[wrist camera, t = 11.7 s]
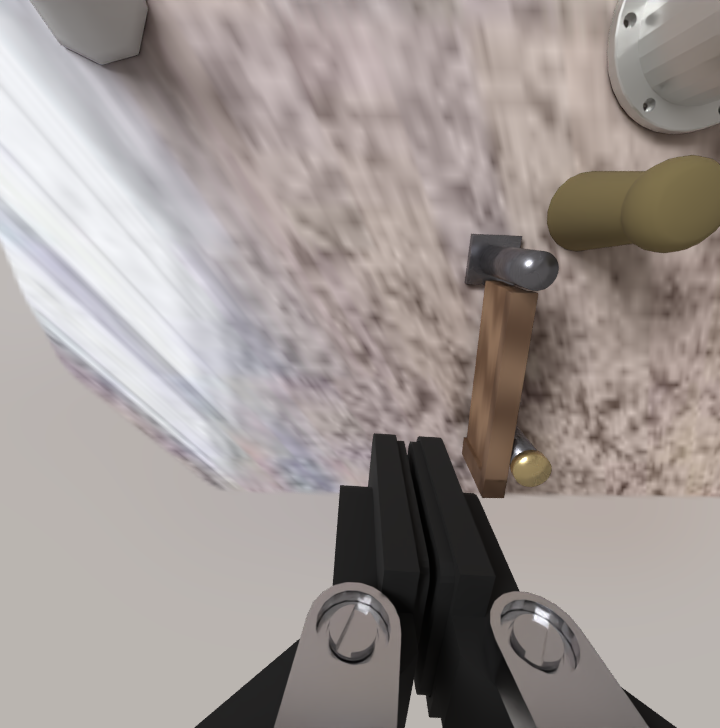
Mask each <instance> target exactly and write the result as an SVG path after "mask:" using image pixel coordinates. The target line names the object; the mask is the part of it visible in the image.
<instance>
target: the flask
mask: <svg viewBox="0 0 720 728" xmlns="http://www.w3.org/2000/svg"><path fill="white" fill-rule="evenodd" d="M30 2H31V3H32V4H33V6H34V7H35V9H36V10H37V12H38V13H39V15H40V16H41V17H42V19H43V20H44V22H45V23H46V25H47V26H48V28H49V29H50V31H51V32H52V34H53V35H54V36H55V38H56V39H57V40H58V42H59V43H60V45H62V46H64V47H66V48H68V49H70V50H72V51H74V52H76V53H78V54H80V55H82V56H84V57H86V58H88V59H90V60H92V61H94V62H96V63H98V64H100V65H103V64H107V63H110V62H114V61H117V60H121V59H124V58H128V57H132V56H135V55H139V50H140V45H141V40H142V35H143V31H144V26H145V21H146V16H147V11H148V7H147V4H146V0H30Z"/></svg>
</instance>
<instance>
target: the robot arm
mask: <svg viewBox="0 0 720 728" xmlns="http://www.w3.org/2000/svg"><path fill="white" fill-rule="evenodd" d="M607 59H608V73H609V77H610V81H611V85H612V88H613V91H614V93H615V95H616V97H617V99H618V101H619V103H620V105H621V106H622V108H623V109H624V110H625V111H626V113H627V114H628V115H629V116H630V117H631V118H632V119H633V120H635V121H636V122H637V123H639V124H640V125H641V126H643V127H646V128H648V129H650V130H653V131H655V132H660V133H666V134H681V133H689V132H693V131H697V130H701V129H705V128H707V127H710V126H713V125H715V124H718V123H720V0H619V1H618V3H617V5H616V8H615V10H614V14H613V18H612V22H611V26H610V30H609V38H608V48H607ZM413 680H414V682H415V689H416V693H417V695H426V699H427V706H428V713H429V717H433V718H441V721H442V726H443V728H676V727H675V726H673V725H672V724H671V723H669V722H668V721H667V720H665V719H664V718H663V717H661V716H660V715H659V714H657V713H656V712H654V711H653V710H652V709H650V708H649V707H647V706H646V705H645V704H644V703H642V702H641V701H639V700H638V699H637V698H635V697H634V696H632V695H631V694H630V693H628V692H627V691H626V690H624V689H623V688H622V687H621V686H620V685H619V684H618V682H617V681H616V679H615V678H614V676H613V675H612V673H611V672H610V670H609V669H608V668H607V666H606V665H605V663H604V662H603V660H602V659H601V658H600V656H599V655H598V653H597V652H596V650H595V649H594V648H593V646H592V645H591V643H590V642H589V640H588V639H587V638H586V636H585V635H584V633H583V632H582V630H581V629H580V628H579V627H578V625H577V624H576V623H575V622H574V621H573V619H572V618H571V617H570V616H569V615H568V614H567V613H566V612H564V611H563V610H562V609H561V608H559V607H558V606H557V605H556V604H554V603H552V602H550V601H548V600H547V599H545V598H543V597H541V596H538V595H535V594H532V593H529V592H520V591H519V589H518V587H517V584H516V582H515V580H514V578H513V575H512V573H511V571H510V569H509V566H508V564H507V562H506V560H505V557H504V555H503V553H502V550H501V548H500V546H499V544H498V541H497V539H496V537H495V535H494V532H493V530H492V528H491V526H490V523H489V521H488V519H487V516H486V514H485V512H484V510H483V507H482V505H481V503H480V501H479V499H478V497H477V495H475V494H474V493H463V492H462V489H461V486H460V484H459V481H458V479H457V476H456V474H455V471H454V468H453V466H452V463H451V461H450V458H449V456H448V453H447V451H446V448H445V445H444V443H443V440H442V439H441V438H436V437H421V436H419V437H418V439H417V442H410V443H409V448H408V455H407V453H406V448H405V443H404V441H397V438H396V435H390V434H375V433H374V435H373V442H372V452H371V462H370V472H369V482H368V487H360V486H344V485H340V496H339V509H338V524H337V536H336V549H335V562H334V576H333V586H332V587H330V588H329V589H327V590H325V591H323V592H322V593H321V594H320V595H319V596H318V597H317V599H316V600H315V601H314V602H313V604H312V606H311V608H310V610H309V612H308V614H307V617H306V621H305V624H304V627H303V631H302V634H301V638H300V639H299V640H297V642H295V643H294V644H293V645H292V646H291V647H289V648H288V649H287V650H286V651H284V652H283V653H282V654H281V655H280V656H279V657H277V658H276V659H275V660H274V661H273V662H271V663H270V664H269V665H268V666H267V667H266V668H264V669H263V670H262V671H261V672H260V673H259V674H257V675H256V676H255V677H254V678H253V679H251V680H250V681H249V682H248V683H247V684H245V685H244V686H243V687H242V688H241V689H240V690H238V691H237V692H236V693H235V694H234V695H232V696H231V697H230V698H229V699H228V700H227V701H225V702H224V703H223V704H222V705H221V706H219V707H218V708H217V709H216V710H215V711H214V712H212V713H211V714H210V715H209V716H208V717H206V718H205V719H204V720H203V721H202V722H200V723H199V724H198V725H197V726H196V727H195V728H404V727H405V723H406V717H407V712H408V707H409V701H410V696H411V691H412V686H413Z"/></svg>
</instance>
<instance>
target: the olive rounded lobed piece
mask: <svg viewBox="0 0 720 728" xmlns="http://www.w3.org/2000/svg"><path fill="white" fill-rule="evenodd" d="M547 225H548V228H549V232H550V235H551V236H552V238H553V239H554V240H555V242H556V243H557V244H558V245H560V246H561V247H563V248H565V249H567V250H572V251H582V250H590V249H597V248H605V247H612V246H619V245H627V244H635V245H637V246H638V247H640V248H642V249H644V250H647V251H652V252H658V253H668V252H676V251H681V250H685V249H687V248H690V247H692V246H694V245H697V244H699V243H700V242H702V241H703V240H704V239H706V238H707V237H708V236H710V235H711V234H712V233H713V232H715V231H716V230H717V229H718V227H719V226H720V164H719V163H717V162H716V161H715V160H713V159H710V158H706V157H701V156H695V155H690V156H683V157H676V158H672V159H668V160H666V161H664V162H662V163H660V164H658V165H656V166H654V167H652V168H650V169H649V170H647V171H592V172H585V173H580V174H578V175H576V176H574V177H572V178H570V179H568V180H567V181H566V182H565V183H564V184H563V185H562V186H561V187H559V189H558V190H557V192H556V193H555V195H554V196H553V198H552V200H551V203H550V206H549V209H548V215H547Z"/></svg>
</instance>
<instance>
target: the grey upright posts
mask: <svg viewBox="0 0 720 728" xmlns="http://www.w3.org/2000/svg"><path fill="white" fill-rule="evenodd" d="M521 240H522V236H507V235H483V234H471V239H470V247H469V254H468V262H467V270H466V277H465V283H466V284H482V285H485V283H486V281H502V282H505V283H507V284H510V285H514V284H515V285H518V286H521V287H524V288H527V289H529V290H533V291H539V290H543V289H545V288H547V287H548V286H550V285H551V284H552V283H553V282H554V280H555V279H556V277H557V274H558V270H559V266H558V262H557V259H556V258H555V257H554V256H553V255H552V254H551V253H549V252H545V251H537V250H529V249H521V248H520V245H521ZM519 407H520V406H519ZM510 469H511V473H512V474H513V476H514V477H515V479H516V481H517V482H518V483H519V484H521V485H523V486H526V487H534V486H538V485H540V484H542V483H544V482H545V481H546V480H547V479H548V478H549V476H550V474H551V464H550V462H549V461H548V460H547V458H546V457H545V456H544V455H543V454H542V453H541V452H539V451H537V450H536V449H535V448H534V446H533V445H532V444H531V443H530V441H529V440H528V439H527V438H526V436H525V435H524V434H523V433H522V431H521V430H520V429H519V428H518V426H517V425H516V429H515V435H514V441H513V447H512V453H511V459H510Z"/></svg>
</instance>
